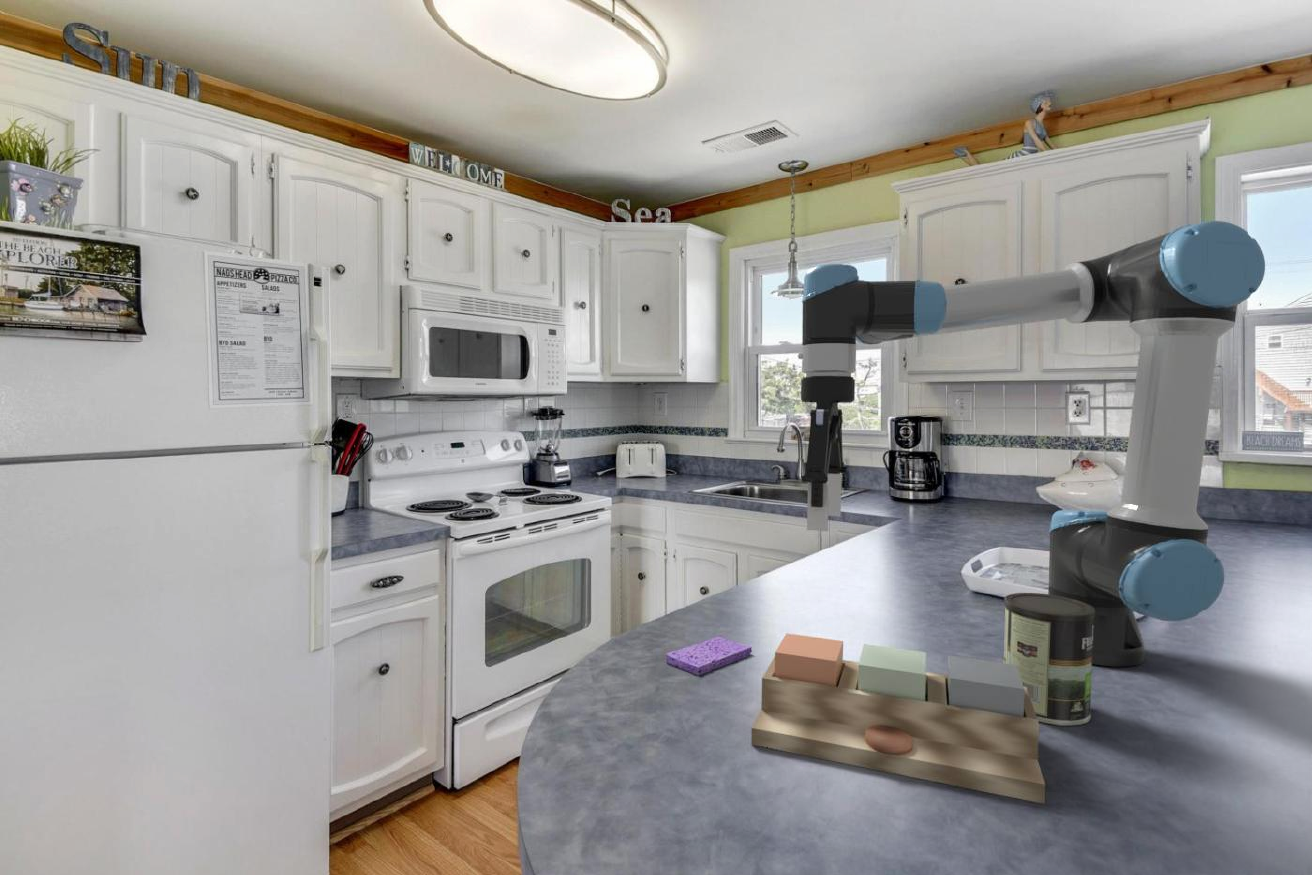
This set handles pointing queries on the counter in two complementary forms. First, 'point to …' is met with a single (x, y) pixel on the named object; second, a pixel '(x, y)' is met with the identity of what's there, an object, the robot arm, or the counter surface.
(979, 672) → the grey key
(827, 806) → the counter surface
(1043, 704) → the coffee can
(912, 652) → the sage key
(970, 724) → the key panel
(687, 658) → the sponges
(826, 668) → the terracotta key
